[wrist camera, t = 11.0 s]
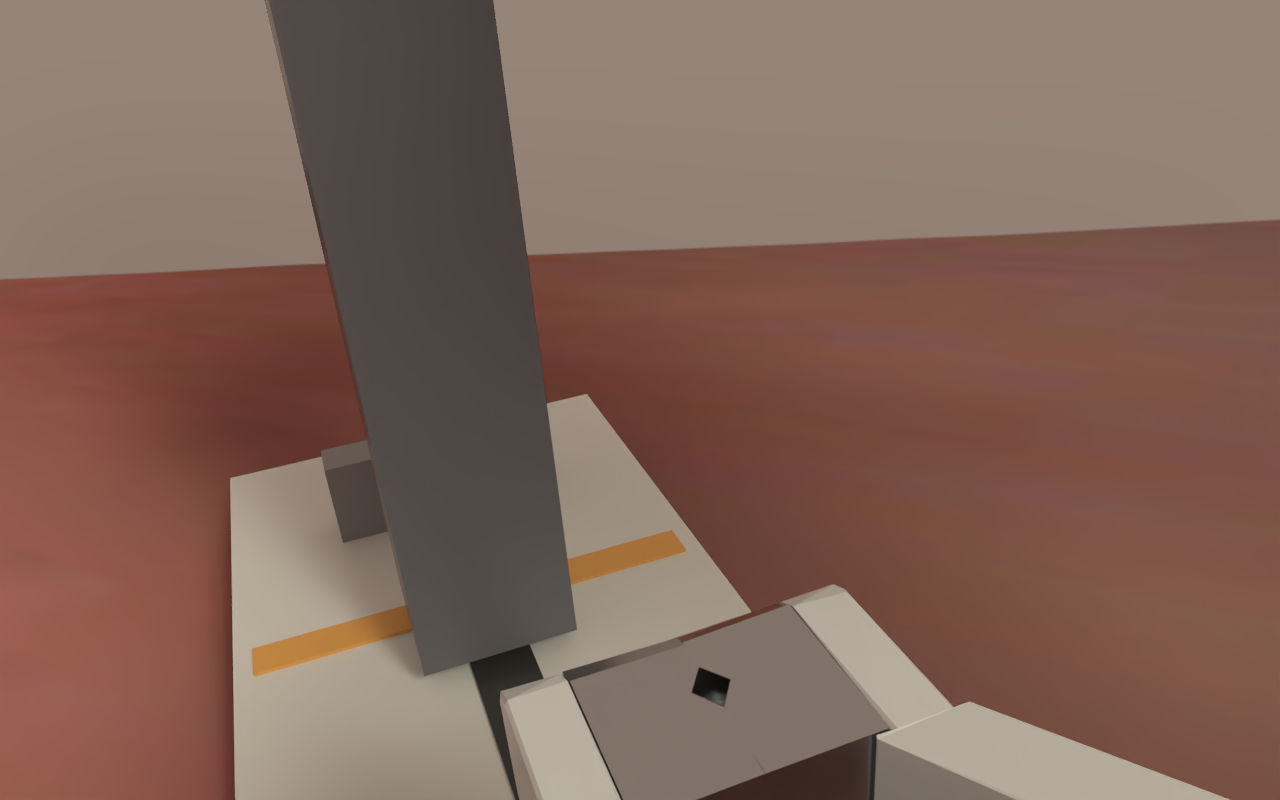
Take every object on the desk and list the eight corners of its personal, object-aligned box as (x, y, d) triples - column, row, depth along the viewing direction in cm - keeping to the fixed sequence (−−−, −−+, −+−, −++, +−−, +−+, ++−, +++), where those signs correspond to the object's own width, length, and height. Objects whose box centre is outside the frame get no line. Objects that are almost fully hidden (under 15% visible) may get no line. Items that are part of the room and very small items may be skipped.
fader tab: (615, 628, 20) (520, -226, 13) (389, 698, 18) (159, -207, 12) (562, 532, 23) (464, -200, 16) (365, 586, 21) (171, -182, 15)
